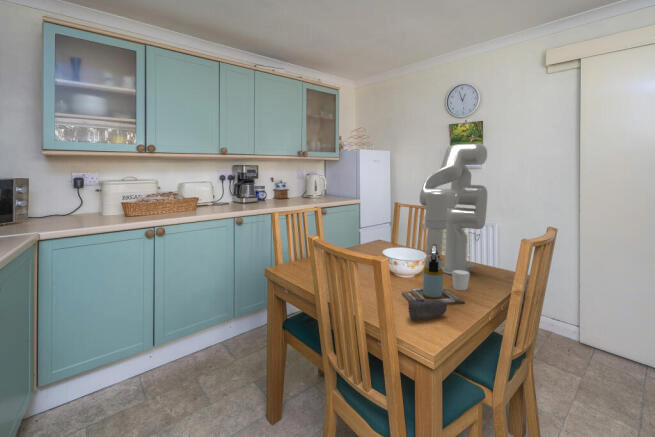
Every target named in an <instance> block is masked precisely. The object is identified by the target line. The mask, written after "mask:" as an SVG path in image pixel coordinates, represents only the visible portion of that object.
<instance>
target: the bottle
mask: <svg viewBox="0 0 655 437" xmlns="http://www.w3.org/2000/svg"><path fill="white" fill-rule="evenodd" d="M429 261H430V256H428V257H426V258H425V262H424V263H425V264H424V266H425V267H424V269H423V280H422V281H423V282H422V285H423V286H422V288H423V295H424V297H425V298H427V299H440V298H441V297H442V289H443V281H444V272H443V270H442V267H443V263H444V262H443V259H442V258H441V257H440V258H438V272H437V273H436V272H429Z"/></svg>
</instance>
